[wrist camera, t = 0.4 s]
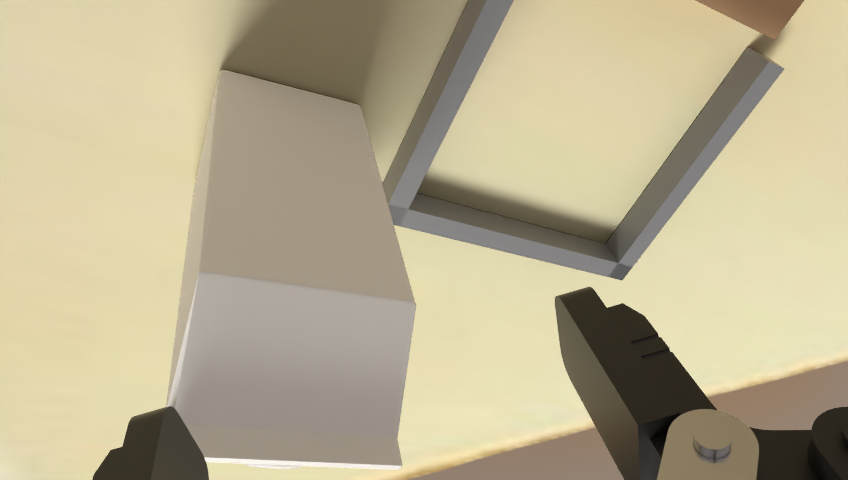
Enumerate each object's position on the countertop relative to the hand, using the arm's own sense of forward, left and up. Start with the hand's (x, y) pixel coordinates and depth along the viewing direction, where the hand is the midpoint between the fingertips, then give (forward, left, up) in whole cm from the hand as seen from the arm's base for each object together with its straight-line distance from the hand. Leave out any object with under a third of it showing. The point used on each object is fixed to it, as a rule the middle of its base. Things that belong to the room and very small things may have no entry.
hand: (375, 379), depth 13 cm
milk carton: (+7, +1, -22) cm, 23 cm away
